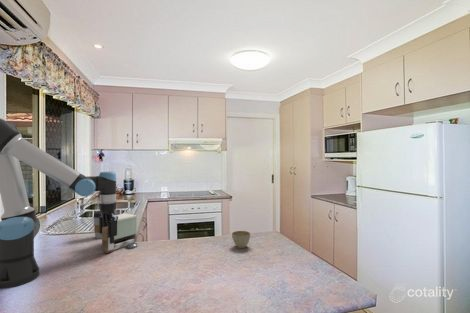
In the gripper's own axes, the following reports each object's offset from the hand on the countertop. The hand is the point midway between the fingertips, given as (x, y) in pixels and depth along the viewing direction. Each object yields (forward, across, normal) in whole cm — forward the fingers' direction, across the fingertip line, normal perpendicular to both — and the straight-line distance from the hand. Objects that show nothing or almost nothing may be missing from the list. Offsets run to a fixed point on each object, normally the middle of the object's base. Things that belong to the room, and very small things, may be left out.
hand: (108, 248), depth 132 cm
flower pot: (+2, -52, -44) cm, 68 cm away
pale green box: (+2, +8, -12) cm, 14 cm away
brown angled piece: (+1, 0, -7) cm, 7 cm away
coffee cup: (+2, +27, -12) cm, 29 cm away
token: (+2, -3, -12) cm, 12 cm away
